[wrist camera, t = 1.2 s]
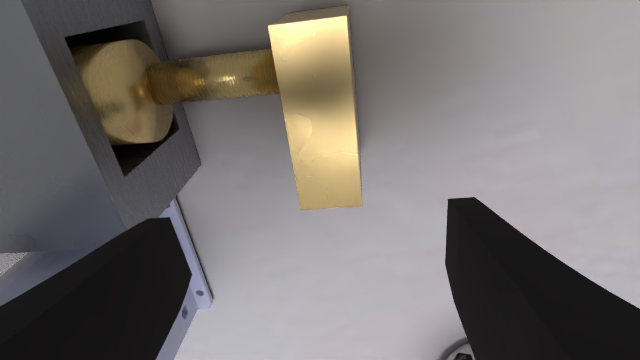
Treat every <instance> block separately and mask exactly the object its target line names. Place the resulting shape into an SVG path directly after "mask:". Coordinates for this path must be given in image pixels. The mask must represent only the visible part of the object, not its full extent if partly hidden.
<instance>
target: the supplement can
mask: <svg viewBox="0 0 640 360" xmlns="http://www.w3.org/2000/svg"><path fill="white" fill-rule="evenodd" d="M446 360H475V358H474V355H473V352H472V350H471V347H470V344H469V343H467V344H465V345H462V346H461V347H459V348H458V349H456V350H455V351H454V352H452V353H451V354H450V355H449V356H448V358H447V359H446Z"/></svg>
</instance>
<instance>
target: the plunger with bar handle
mask: <svg viewBox="0 0 640 360" xmlns="http://www.w3.org/2000/svg"><path fill="white" fill-rule="evenodd" d="M268 30H269V36H270V41H271V47H272V48H271V49H263V50H254V51H246V52H238V53H229V54H221V55H213V56H204V57H196V58H188V59H179V60H171V61H162V62H160V60H159V58H158V57H157V56H156V54H155V53H154V52H153V51H152V49H150V48H149V47H148V46H147V45H146V44H144V43H143V42H141V41H138V40H134V39H130V40H122V41H115V42H107V43H99V44H91V45H84V46H76V47H69V50H70V52H71V54H72V57H73V59H74V61H75V64H76V66H77V68H78V71H79V73H80V75H81V78H82V80H83V82H84V85H85V87H86V89H87V92H88V94H89V96H90V99H91V101H92V103H93V105H94V108H95V110H96V112H97V115H98V117H99V119H100V122H101V124H102V126H103V129H104V131H105V133H106V136H107V138H108V140H109V143H110V145H111V146H116V145H127V144H139V143H150V142H157V141H160V140H161V139H163V138H164V137H165V136H166V134H167V133H168V131H169V129H170V126H171V122H172V117H173V104H181V103H191V102H201V101H211V100H220V99H230V98H240V97H250V96H259V95H269V94H279V93H280V97H281V103H282V108H283V114H284V120H285V125H286V131H287V136H288V142H289V148H290V153H291V159H292V164H293V170H294V176H295V181H296V187H297V192H298V198H299V204H300V209H301V210H307V209H324V208H341V207H358V206H362V185H361V155H360V142H359V130H358V117H357V104H356V92H355V79H354V66H353V54H352V41H351V28H350V16H349V5H345V6H338V7H330V8H322V9H315V10H307V11H300V12H292V13H289V14H288V15H286V16H284V17H282V18H281V19H279V20H277V21H275V22H274V23H272V24H270V25H268Z"/></svg>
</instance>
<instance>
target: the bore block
mask: <svg viewBox="0 0 640 360" xmlns="http://www.w3.org/2000/svg"><path fill="white" fill-rule="evenodd" d="M130 39H134V40H138V41H141V42H143V43H144V44H146V45H147V46H148V47H149V48H150V49H152V51H153V52H154V53H155V54H156V56H157V57H158V58H159V60H160V62H162V61H169V60H168V57H167V54H166V51H165V48H164V44H163V41H162V38H161V35H160V31H159V28H158V25H157V22H156V19H155V15H154V12H153V9H152V6H151V3H150V0H0V253H18V252H39V251H59V250H80V249H97V248H99V247H100V246H102V245H103V244H105V243H107V242H108V241H110V240H111V239H113V238H115V237H116V236H118V235H119V234H121V233H123V232H124V231H126V230H128V229H130V228H131V227H133V226H135V225H137V224H138V223H140V222H142V221H144V220H146V219H148V218H159V216H160V215H161V214H162V213H163V211H164V210H165V209H166V208H167V206H168V205H169V204H170V203H171V202H172V200H173V199H174V198H175V197H176V195H177V194H178V193H179V192H180V190H181V189H182V188H183V187H184V186H185V184H186V183H187V182H188V181H189V179H190V178H191V177H192V176H193V174H194V173H195V172H196V171H197V170H198V168H199V167H200V166H201V163H200V160H199V157H198V153H197V150H196V147H195V144H194V141H193V137H192V134H191V131H190V128H189V125H188V121H187V118H186V115H185V112H184V109H183V105H182V103H181V104H173V117H172V122H171V126H170V129H169V131H168V133H167V134H166V136H165V137H164V138H163V139H161V140H160V141H157V142H150V143H139V144H127V145H116V146H111V145H110V143H109V140H108V138H107V136H106V133H105V131H104V129H103V126H102V124H101V122H100V119H99V117H98V115H97V112H96V110H95V108H94V105H93V103H92V101H91V99H90V96H89V94H88V92H87V89H86V87H85V85H84V82H83V80H82V78H81V75H80V73H79V71H78V68H77V66H76V64H75V61H74V59H73V57H72V54H71V52H70V50H69V47H76V46H84V45H91V44H99V43H107V42H115V41H122V40H130Z"/></svg>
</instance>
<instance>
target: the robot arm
mask: <svg viewBox="0 0 640 360" xmlns="http://www.w3.org/2000/svg"><path fill="white" fill-rule="evenodd" d="M445 265H446V269H447V274H448V278H449V283H450V287H451V291H452V295H453V299H454V303H455V306H456V308H457V311H458V314H459V317H460V320H461V322H462V325H463V328H464V331H465V333H466V336H467V339H468V341H469V344H470V347H471V350H472V352H473V355H474V358H475V360H640V309H639V308H637V307H636V306H634V305H632V304H630V303H628V302H627V301H625V300H623V299H621V298H620V297H618V296H616V295H614V294H613V293H611V292H609V291H607V290H606V289H604V288H602V287H601V286H599V285H597V284H596V283H594V282H593V281H591V280H589V279H588V278H586V277H585V276H583V275H582V274H580V273H578V272H577V271H575V270H574V269H572V268H571V267H569V266H568V265H566V264H565V263H563V262H562V261H560V260H559V259H557V258H556V257H554V256H553V255H551V254H550V253H548V252H547V251H545V250H544V249H543V248H541V247H540V246H538V245H537V244H536V243H534V242H533V241H531V240H530V239H529V238H527V237H526V236H525V235H523V234H522V233H521V232H519V231H518V230H517V229H515V228H514V227H513V226H511V225H510V224H509V223H507V222H506V221H505V220H504V219H502V218H501V217H500V216H498V215H497V214H496V213H495V212H493V211H492V210H491V209H489V208H488V207H487V206H486V205H484V204H483V203H482V202H480V201H479V200H478V199H476V198H475V197H470V198H455V199H448V211H447V235H446V259H445ZM200 290H201V291H200ZM212 303H213V299H212V296H211V294H210V291H209V288H208V285H207V283H206V280H205V277H204V274H203V272H202V269H201V266H200V263H199V261H198V258H197V255H196V253H195V250H194V247H193V244H192V242H191V239H190V236H189V233H188V231H187V228H186V225H185V223H184V220H183V217H182V214H181V212H180V209H179V206H178V203H177V201H176V198H174V199H173V200H172V202H171V203H170V204H169V205H168V206H167V208H166V209H165V210H164V211H163V213H162V214H161V215H160V216H159V218H148V219H146V220H144V221H142V222H140V223H138V224H137V225H135V226H133V227H131V228H130V229H128V230H126V231H124V232H123V233H121V234H119V235H118V236H116V237H115V238H113V239H111V240H110V241H108V242H107V243H105V244H103V245H102V246H100V247H99V248H97V249H80V250H59V251H39V252H29V253H27V254H26V255H25V256H24V257H23V258H22V259H20V260H19V261H18V262H17V263H16V264H14V265H13V266H12V267H11V268H10V269H9V270H7V271H6V272H5V273H4V274H3V275H1V276H0V360H174V358H175V356H176V354H177V352H178V349H179V347H180V345H181V343H182V341H183V339H184V337H185V335H186V332H187V330H188V328H189V326H190V324H191V322H192V320H193V318H194V315H195V313H196V311H197V309H205V308H209V307H211V305H212Z"/></svg>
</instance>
